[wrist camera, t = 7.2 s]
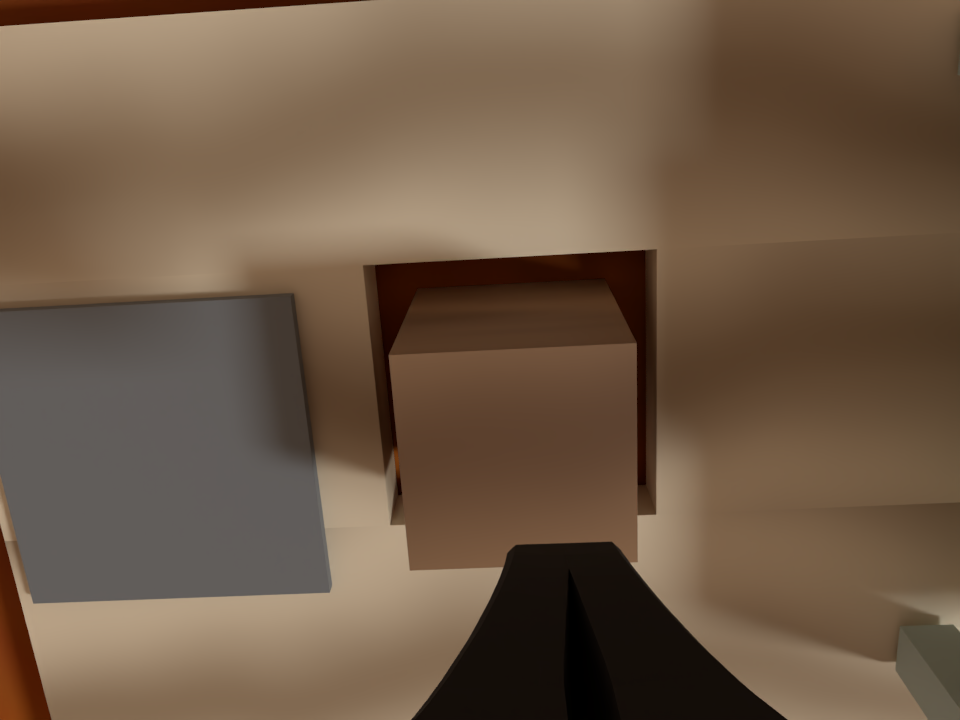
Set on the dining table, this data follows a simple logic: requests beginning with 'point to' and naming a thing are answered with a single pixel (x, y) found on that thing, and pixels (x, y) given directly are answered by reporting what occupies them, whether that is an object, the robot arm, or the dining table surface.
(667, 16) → the puzzle board
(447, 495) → the walnut block
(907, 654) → the sled cover
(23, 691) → the dining table surface
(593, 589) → the robot arm
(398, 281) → the dining table surface
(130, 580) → the slate pad
